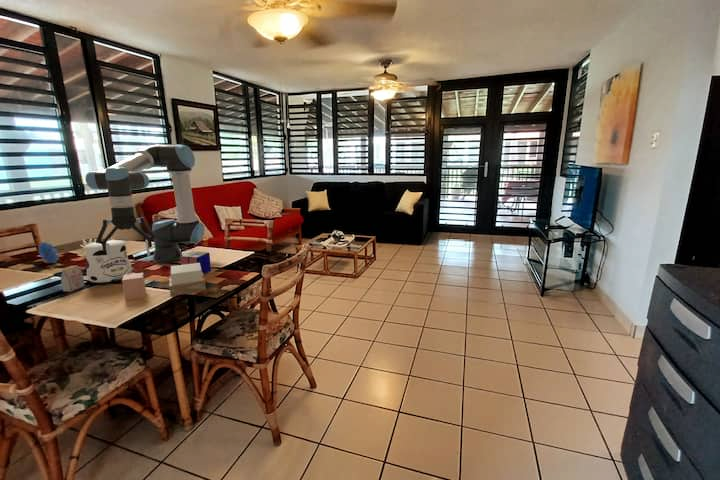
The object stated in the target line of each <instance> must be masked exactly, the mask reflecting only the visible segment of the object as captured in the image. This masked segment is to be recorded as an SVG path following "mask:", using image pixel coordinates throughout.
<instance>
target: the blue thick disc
mask: <svg viewBox="0 0 720 480" xmlns="http://www.w3.org/2000/svg"><path fill="white" fill-rule="evenodd" d="M53 247H54V245H53V244H51V243H48V242H45V241H43V242H41V243H40V244H39V245H38V247H37V248H38V253H39V256H40V257H41V259H42V260H45V261H46V263H48V264H56V263H57V262H58V259H59V255H58V254H57V253H58V250H57V249H56V248H53Z"/></svg>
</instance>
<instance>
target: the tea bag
mask: <svg viewBox="0 0 720 480" xmlns="http://www.w3.org/2000/svg"><path fill="white" fill-rule="evenodd" d="M60 281H61V286H62V287H61V288H62V292H66V293H67V292H69V293H70V292H75V291H76V290H79V289H82V288H84V287H85V286H86V285H85V280H84V274H83V272H82V270H81V269H80V268H79V266H78V265H73V266H71V267H68V268H67V267H66V268H65V269H62V272H61V276H60Z"/></svg>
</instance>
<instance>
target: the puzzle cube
mask: <svg viewBox="0 0 720 480" xmlns="http://www.w3.org/2000/svg"><path fill="white" fill-rule="evenodd" d="M210 255H211V254H210V252H206V251H204V252H203V251H194V250H193V251H190V252H188V253H186V254H182V256H180V261H179V262H180V265H185V264H194V263H200V266H201V271H202V272H203V275H205V274H207V273H209V272H210V271H211V272H212V267H211V265H212V264H211V257H210Z"/></svg>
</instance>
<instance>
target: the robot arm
mask: <svg viewBox="0 0 720 480" xmlns="http://www.w3.org/2000/svg"><path fill="white" fill-rule="evenodd" d="M195 162H196V158H195V155H194V152H193V150H192V148H191V147H190V146H188V145H185V144H180V143H179V144H177V143H176V144H160V143H159V144H153V145H150V146H146V147H143V148H141V149H140V150H137V151H136V152H135V153H134V155H132V156H130V157H128V158H125V159H124V160H121V161H119V162H117V163H115V164H113V165H110V166H109V167H106V168H105V169H102V170H100V171H98V170H94V171H93V170H92V171H88V172H87V173H86V175H85V182H86V185H87V187H89V188H90V189H92V190H105V191H106V190H107V193H108V199H109V205H110V207H111V208H110V212H111V219H106V218H104V219H103V220H102V227H101V229H100V231H99V233H98V236H97V238H96V240H95V242H96V243H100V244H102V247H103V251H104V252H107V257H108V260H111V253H110V247H109V243H106V242H107V241H110V239H111V237H112V236H113V235H114V234H115V233H116V232H117V231H118V230H120V231H123V230H131V229H132V230H134V231H135V232H136V233H138V234H139V235H141V236H142V237H143V238H145V248H146V255H147V257H150V256H151V251H150V249H151V248H152V246H153V245H152V244H154V250H153V251H154V252H153V255H152V262H153V264H157V265H158V264H159V265H165V264H166V265H167V264H173V263H179V262H181V261H180V256H182V255H183V253H182V251H181V248H180V247H179V244H180V243H181V244H196V243H197V244H198V243H200V242H201V241H202V240H203V238H204V235H205V225H204V223H203V222H201V221H200V218H199V217H197V216H196V212H195V206H194V205H195V204H194V199H193V192H192V184H191V177H190V173H192V168H193V167H195ZM151 168H166V170H167V172H168V173H169V174H170V175H171V182H172V187H173V188H172V189H173V192H174V198H175V199H174V200H175V204H176V205H175V206H176V210H177V216H178V217H177V219H173V218H172V219H165V220H160V221H155V222H153V223H152V224H151V228H152V229H151V228H150V227H149V225H148V224H147V222H146V221H145V217H144V216H141V217H136V216H135V210H134V209H135V207H133V205H134V202H133V193H132V191H135V190H140V191H141V190H143V189H146V188H147V187H148V186H149V185H150V178H149V176H148V175H147V174H146V173H145V172H143V170H150V169H151ZM137 222H138V223H139V224H141V226H143V228H144V229H145V230H146V232H147V233H146V232H145V231H144V230H142V229H141V228H140V227H139V226H137V224H136V223H137ZM110 224H112V225H113V226H114V227H113V228H112V230H111V231H110V232H109V233H108V234H107V235H106V237H104V239H102V238H103V236H104V234H105V232H106V229H107V227H108V226H109V225H110ZM152 240H153V242H154V243H152Z"/></svg>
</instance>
